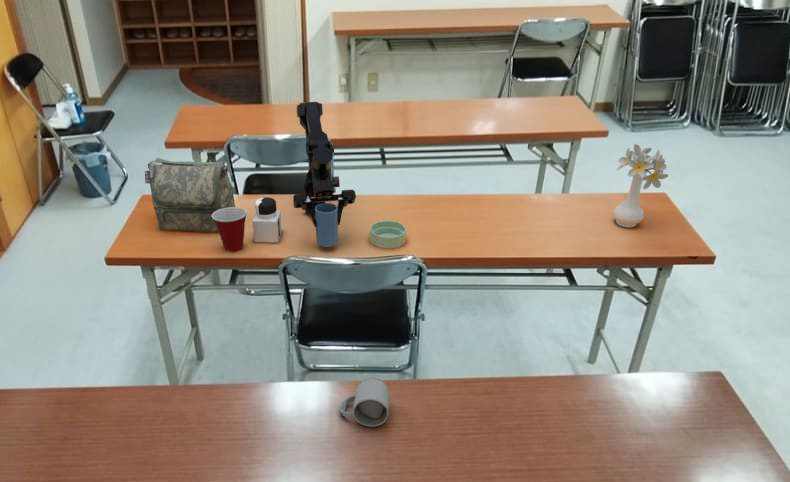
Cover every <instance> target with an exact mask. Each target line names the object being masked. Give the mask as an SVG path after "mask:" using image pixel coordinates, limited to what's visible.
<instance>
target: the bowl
mask: <svg viewBox="0 0 790 482" xmlns="http://www.w3.org/2000/svg"><path fill="white" fill-rule="evenodd" d="M406 241H407V227H406V226H405V225H404V224H403V223H401V222H399V221H395V220H381V221H380V220H379V221H376V222H374V223H372V224H371V226H370V227H369V243H371V244H372V245H373V246H375V247H377V248H380V249H396V248H400V247H401V246H403V245H404V244H405V243H406Z"/></svg>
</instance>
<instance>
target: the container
mask: <svg viewBox="0 0 790 482" xmlns="http://www.w3.org/2000/svg"><path fill="white" fill-rule="evenodd" d="M254 207H255V214H254V216H253V218H252V231H253V232H252V233H253V240H254V242H255V243H272V244H273V243H277V244H278V243H279V241H280V238H281V235H282V232H283V227H282V226H283V225H282V213H281V210H278V209H277V201H276V199H275V198H274V197H267V196H266V197H265V196H264V197H259V198H258V199H256V201H254Z"/></svg>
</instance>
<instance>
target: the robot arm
mask: <svg viewBox="0 0 790 482" xmlns="http://www.w3.org/2000/svg"><path fill="white" fill-rule="evenodd" d="M323 114H324V112H323V103H321V102H318V101H306V102H299V104H297V105H296V117H297V118H298V120H299V125H300V126H301V127H302V129H303V130H304V133H305V154H306V156H307V163H308V171H307V173H306V176H305V181H304V182H303V183H304V184H303V192H301V193H294V195H293V196H292V197H293V199H292V203H293V208H294V209H301V210H302V211H305V212H304V213H305V215H306V216H307V215H308V217H309V219H310V220H311V222H312V224H313V226H314V228H316V219H315V207H316V206H317V205H319V204H322V203H329V202H337V205H336V206H337V207H338V226H340V225H341V219H342V215H343V210H344V208H346V207H348V205H352V204H354V203H355V201H356V198H357V196H356V191H355V189H342V190H341V192H340V194H339V193H338V194H337V193H335V188H340V187H341V185H340V176H339V175H337V176H336V175H335V176H332V174H331V173H332V172H331V165H332V161H333V154H334V153H335V148H334V145H333V143H332V142H331V140H329V137H328V133H326V132H325V131H323V126H322V120H321V117H322V116H323ZM334 193H335V194H334Z"/></svg>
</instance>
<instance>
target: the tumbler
mask: <svg viewBox="0 0 790 482" xmlns="http://www.w3.org/2000/svg"><path fill="white" fill-rule="evenodd" d="M315 219H316V227H315V240H316V244H317V245H318V246H320V247H325V248H329V247H334V246H336V245H337V244H338V243H339V225H338V207H337V205H336V204H335V203H331V202H325V203H322V204H319V205H317V206H316V207H315Z"/></svg>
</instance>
